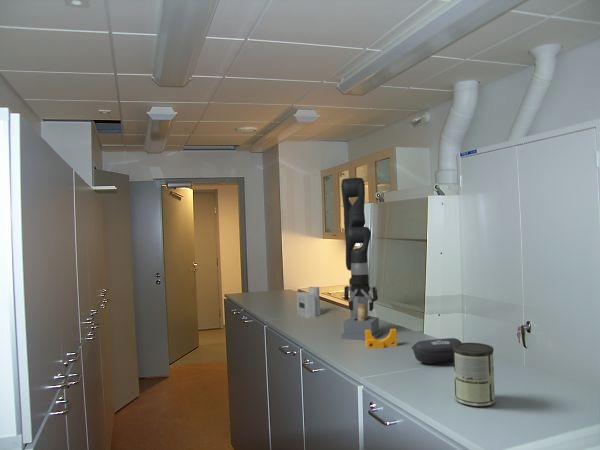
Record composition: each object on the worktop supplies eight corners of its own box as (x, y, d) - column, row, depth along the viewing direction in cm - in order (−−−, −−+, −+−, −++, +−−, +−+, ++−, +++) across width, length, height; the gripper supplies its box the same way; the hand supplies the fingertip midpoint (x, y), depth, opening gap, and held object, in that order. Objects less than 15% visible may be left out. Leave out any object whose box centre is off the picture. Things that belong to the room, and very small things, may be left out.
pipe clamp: (367, 349, 187) (366, 332, 187) (365, 346, 191) (364, 329, 191) (398, 347, 187) (397, 330, 187) (395, 344, 192) (394, 328, 192)
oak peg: (359, 330, 211) (358, 303, 212) (367, 331, 210) (367, 303, 210) (356, 332, 208) (356, 304, 208) (365, 333, 206) (365, 304, 206)
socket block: (351, 330, 218) (351, 315, 218) (382, 332, 213) (381, 316, 213) (341, 338, 205) (340, 321, 205) (373, 340, 199) (372, 323, 199)
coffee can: (449, 393, 135) (447, 343, 135) (485, 391, 135) (483, 341, 135) (462, 407, 125) (460, 352, 125) (502, 405, 125) (500, 351, 125)
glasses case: (421, 368, 159) (420, 345, 159) (407, 360, 169) (406, 338, 169) (470, 363, 163) (469, 340, 163) (453, 355, 173) (452, 334, 173)
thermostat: (297, 315, 262) (296, 287, 262) (320, 312, 268) (319, 285, 268) (307, 318, 251) (306, 289, 251) (331, 315, 257) (330, 287, 257)
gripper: (378, 272, 209) (379, 309, 209) (346, 272, 215) (348, 308, 215) (373, 274, 202) (375, 312, 203) (341, 273, 208) (342, 311, 208)
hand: (361, 310), depth 209 cm, fingers open, 8 cm apart
